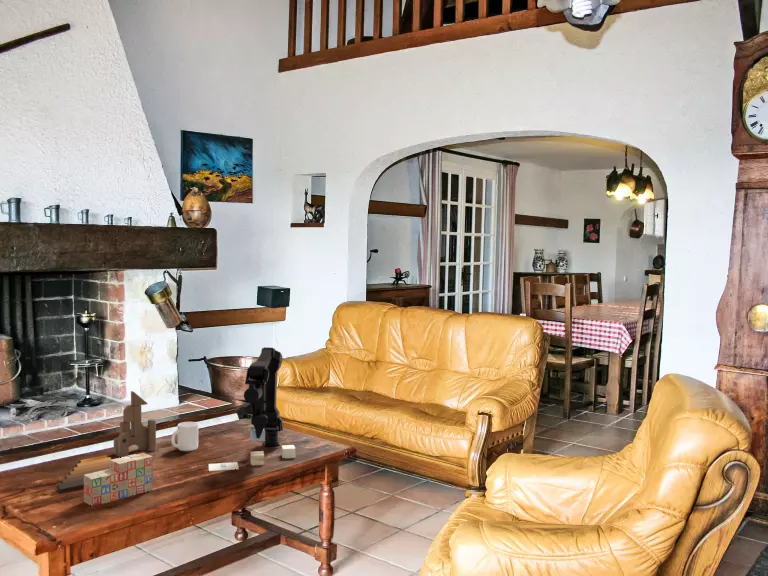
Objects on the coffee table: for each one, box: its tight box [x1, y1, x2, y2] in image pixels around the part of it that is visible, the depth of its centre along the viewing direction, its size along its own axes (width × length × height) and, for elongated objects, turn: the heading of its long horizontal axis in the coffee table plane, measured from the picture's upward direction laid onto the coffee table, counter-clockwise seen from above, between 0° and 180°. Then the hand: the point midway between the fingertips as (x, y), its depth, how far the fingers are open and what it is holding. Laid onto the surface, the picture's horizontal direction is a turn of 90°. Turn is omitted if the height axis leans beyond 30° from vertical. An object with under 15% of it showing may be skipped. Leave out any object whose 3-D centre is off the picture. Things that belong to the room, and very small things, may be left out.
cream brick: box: [281, 444, 296, 459], centre depth 277 cm, size 5×5×4 cm
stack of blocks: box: [83, 452, 154, 507], centre depth 231 cm, size 21×6×12 cm, turn 137°
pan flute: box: [56, 454, 112, 494], centre depth 250 cm, size 25×3×25 cm
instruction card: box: [208, 461, 240, 472], centre depth 263 cm, size 8×11×1 cm
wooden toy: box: [113, 390, 157, 458], centre depth 278 cm, size 16×7×25 cm, turn 133°
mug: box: [170, 421, 199, 452], centre depth 284 cm, size 12×8×10 cm
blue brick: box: [249, 426, 265, 442], centre depth 268 cm, size 5×5×4 cm
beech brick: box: [249, 450, 265, 466], centre depth 268 cm, size 5×5×4 cm
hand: (257, 436), depth 268 cm, fingers closed on blue brick, 5 cm apart
